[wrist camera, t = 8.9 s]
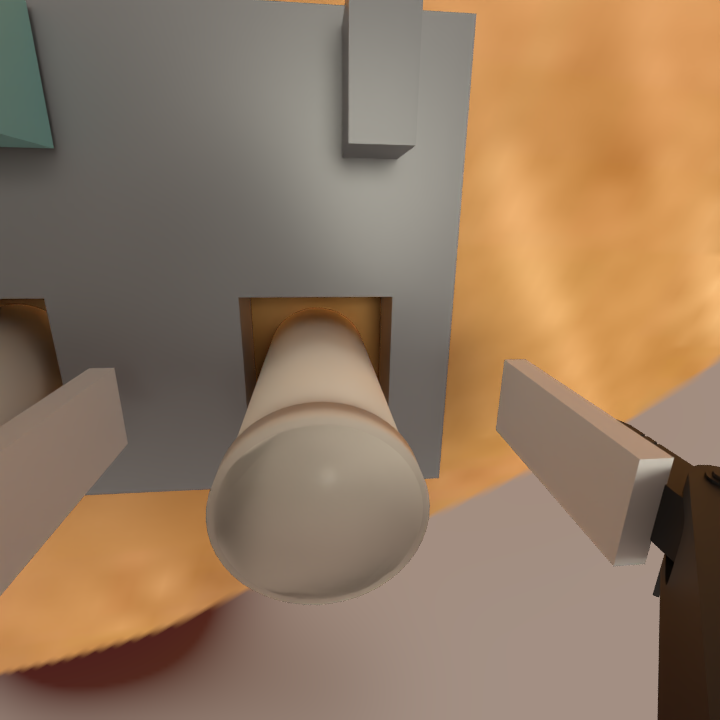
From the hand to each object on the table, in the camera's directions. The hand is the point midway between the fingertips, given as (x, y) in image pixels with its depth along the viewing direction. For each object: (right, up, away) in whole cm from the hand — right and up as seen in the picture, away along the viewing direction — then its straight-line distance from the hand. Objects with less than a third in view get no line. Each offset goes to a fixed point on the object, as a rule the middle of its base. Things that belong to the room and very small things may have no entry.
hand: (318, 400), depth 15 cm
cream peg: (-1, +2, +6) cm, 6 cm away
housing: (-7, +5, +4) cm, 10 cm away
